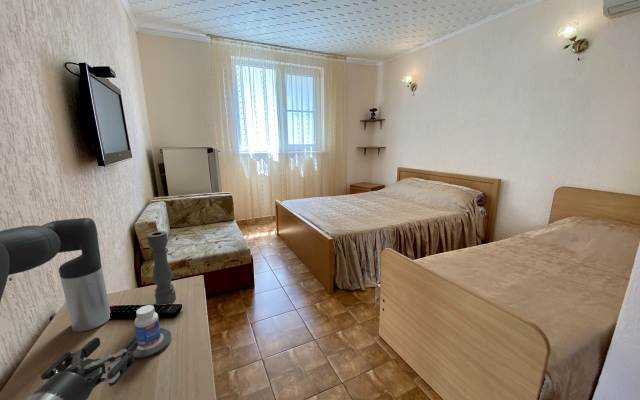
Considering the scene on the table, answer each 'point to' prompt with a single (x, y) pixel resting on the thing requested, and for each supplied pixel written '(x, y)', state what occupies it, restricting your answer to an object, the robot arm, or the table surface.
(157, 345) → the small round plate
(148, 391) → the table surface
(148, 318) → the pill bottle
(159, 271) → the candle holder
